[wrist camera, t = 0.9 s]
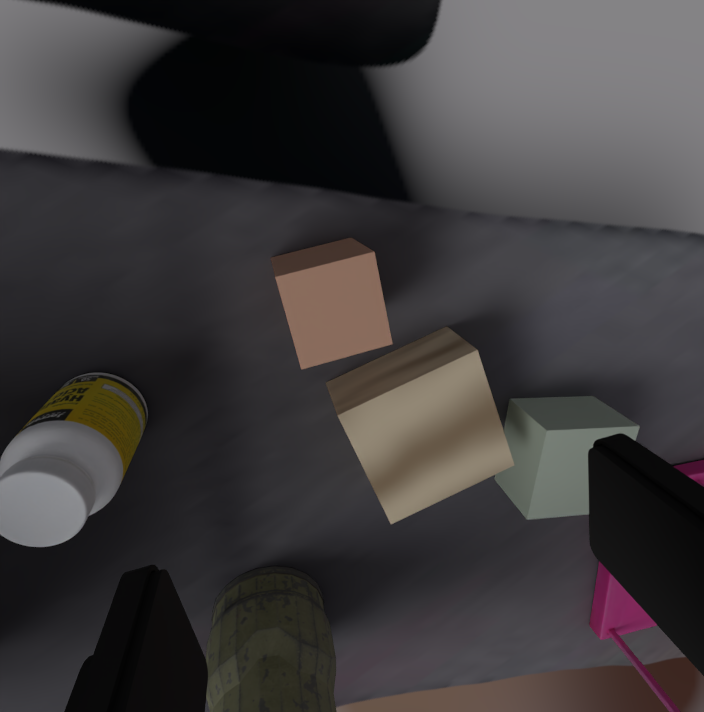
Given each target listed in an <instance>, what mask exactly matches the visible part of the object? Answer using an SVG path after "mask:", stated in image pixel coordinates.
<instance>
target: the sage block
mask: <svg viewBox="0 0 704 712" xmlns="http://www.w3.org/2000/svg"><path fill="white" fill-rule="evenodd" d="M639 427H640V426H639V425H637V424H636V423H634V422H633V421H631V420H630V419H628V418H626V417H625V416H623V415H622V414H620V413H619V412H617V411H616V410H614V409H613V408H611V407H609V406H608V405H606V404H605V403H603V402H602V401H600V400H599V399H597V398H595V397H594V396H574V397H544V398H513V399H509V405H508V410H507V415H506V420H505V426H504V434H505V437H506V440H507V443H508V446H509V449H510V452H511V455H512V458H513V462H514V466H512V467H510V468H508V469H506V470H504V471H502V472H499V473H497V474H495V481H496V482H497V483H498V484H499V486H500V487H501V488H502V489H503V491H504V492H505V493H506V494H507V496H508V497H509V498H510V499H511V501H512V502H513V503H514V504H515V506H516V507H517V508H518V509H519V511H520V512H521V513H522V514H523V516H524V517H525V518H526V519H527V520H530V519H542V518H553V517H564V516H575V515H586V514H589V483H588V451H589V449H591V448H593V444H594V442H595V441H596V440H597V439H601V438H604V437H608V436H611V435H615V434H618V433H623V434H625V435H627V436H629V437H630V438H632V439H633V440H635V441H636V437H637V434H638V431H639Z"/></svg>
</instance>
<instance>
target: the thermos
mask: <svg viewBox="0 0 704 712" xmlns="http://www.w3.org/2000/svg"><path fill="white" fill-rule="evenodd" d="M206 662H207V668H208V684H207V693H206V698H207V702H208V705H209V709H210V712H336V706H335V700H334V694H333V693H334V684H335V676H336V656H335V651H334V645H333V639H332V634H331V628H330V622H329V620H328V618H327V616H326V614H325V612H324V600H323V594H322V592H321V590H320V588H319V586H318V584H317V582H315V581H314V580H313V579H312V578H311V577H310V576H308V575H307V574H306V573H304V572H301V571H299V570H296V569H293V568H289V567H279V566H271V567H265V568H258V569H254V570H252V571H250V572H247V573H245V574H242V575H240V576H238V577H237V578H236V579H234V580H233V581H232V582H230V583H229V584H228V585H226V586H225V587H224V589H223V590H222V591H221V593H220V594H219V596H218V597H217V598H216V601H215V604H214V608H213V611H212V628H211V632H210V635H209V639H208V642H207V651H206Z"/></svg>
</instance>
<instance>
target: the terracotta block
mask: <svg viewBox="0 0 704 712" xmlns="http://www.w3.org/2000/svg"><path fill="white" fill-rule="evenodd" d="M271 262H272V266H273V270H274V274H275V278H276V281H277V285H278V288H279V292H280V295H281V299H282V303H283V306H284V310H285V313H286V317H287V320H288V324H289V327H290V331H291V335H292V338H293V342H294V345H295V349H296V352H297V356H298V359H299V363H300V367H301V370H302V369H305V368H309V367H312V366H316V365H320V364H323V363H327V362H330V361H334V360H337V359H341V358H345V357H348V356H352V355H355V354H359V353H363V352H366V351H370V350H373V349H377V348H381V347H384V346H388V345H391V344H392V339H391V334H390V329H389V323H388V318H387V313H386V308H385V303H384V298H383V293H382V288H381V282H380V277H379V272H378V267H377V262H376V257H375V252H374V251H373V250H371V249H369V248H368V247H366V246H364V245H363V244H361V243H359V242H358V241H356V240H355V239H353V238H347V239H343V240H339V241H335V242H331V243H327V244H323V245H319V246H315V247H311V248H307V249H303V250H299V251H295V252H291V253H287V254H283V255H279V256H275V257H271Z"/></svg>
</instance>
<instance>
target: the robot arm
mask: <svg viewBox="0 0 704 712" xmlns="http://www.w3.org/2000/svg"><path fill="white" fill-rule="evenodd" d="M588 483H589V534H590V546H591V549H592V551H593V553H594V555H595V556H596V558H597V559H598V560H599V561H600V563H601V564H602V565H603V566H604V567H605V568H606V569H607V570H608V571H609V572H610V574H611V575H612V576H613V577H614V578H615V579H616V580H617V581H618V582H619V583H620V585H621V586H622V587H623V588H624V589H625V590H626V591H627V592H628V593H629V594H630V595H631V597H632V598H633V599H634V600H635V601H636V602H637V603H638V604H639V605H640V606H641V608H642V609H643V610H644V611H645V612H646V613H647V614H648V615H649V616H650V617H651V619H652V620H653V621H654V622H655V623H656V624H657V625H658V626H659V627H660V628H661V630H662V631H663V632H664V633H665V634H666V635H667V636H668V637H669V638H670V639H671V641H672V642H673V643H674V644H675V645H676V646H677V647H678V648H679V649H680V650H681V652H682V653H683V654H684V655H685V656H686V657H687V658H688V659H689V660H690V661H691V662H692V664H693V665H694V666H695V667H696V668H697V669H698V670H699V671H700V672H701V673H702V675H703V676H704V487H703V486H702V485H700V484H699V483H697V482H696V481H694V480H693V479H691V478H690V477H688V476H687V475H685V474H684V473H682V472H681V471H679V470H678V469H676V468H675V467H673V466H672V465H670V464H669V463H667V462H666V461H664V460H663V459H661V458H660V457H659V456H657V455H656V454H654V453H653V452H651V451H650V450H648V449H647V448H645V447H644V446H642V445H641V444H639V443H638V442H636V441H635V440H633V439H632V438H630V437H629V436H627V435H625V434H623V433H618V434H615V435H611V436H608V437H604V438H601V439H597V440H596V441H595V442H594V444H593V448H591V449H589V451H588ZM207 684H208V668H207V662H206V659H205V657H204V654H203V652H202V650H201V647H200V645H199V643H198V640H197V638H196V636H195V633H194V631H193V629H192V626H191V624H190V622H189V619H188V617H187V615H186V613H185V610H184V608H183V606H182V603H181V601H180V599H179V596H178V594H177V592H176V589H175V587H174V585H173V582H172V580H171V578H170V576H169V573H168V572H167V570H165V569H163V570H160V571H159V570H158V568H157V567H156V566H155V565H150V566H146V567H143V568H139V569H136V570H132V571H129V572H125V573H124V574H123V575H122V577H121V579H120V582H119V585H118V588H117V590H116V593H115V596H114V599H113V601H112V604H111V607H110V610H109V613H108V615H107V618H106V621H105V624H104V627H103V629H102V632H101V635H100V638H99V641H98V643H97V646H96V649H95V652H94V654H93V655H92V656H89V657H88V658H87V659H86V660H85V661H84V663H83V665H82V667H81V669H80V672H79V674H78V677H77V680H76V682H75V685H74V688H73V690H72V693H71V696H70V698H69V701H68V704H67V706H66V709H65V712H205V703H206V693H207Z"/></svg>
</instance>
